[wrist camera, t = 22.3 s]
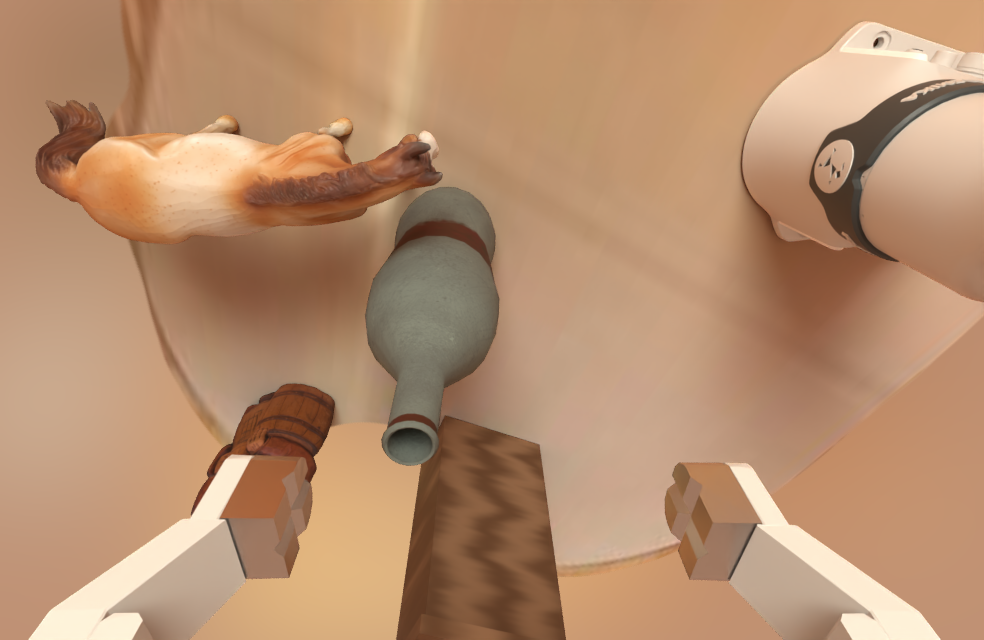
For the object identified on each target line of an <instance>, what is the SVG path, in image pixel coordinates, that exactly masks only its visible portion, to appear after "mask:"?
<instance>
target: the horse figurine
mask: <svg viewBox="0 0 984 640" xmlns="http://www.w3.org/2000/svg"><path fill="white" fill-rule="evenodd" d="M66 102H67V104H66V106H64V107H61V106H60V105H58V104H56V103H54V102H51V101H48V100H47V101H46V104H47V106H48V108H49V109H50V112H51V113H52V114H53V116H54V118H55V120H56V122H57V125H58V128H59V133H60V134H58V135H57V136H55V137H54V138H53V139H52V140H50V141H49V142H48V143H47V144H45V145H44V146H42V147H41V148H40V149H39V151H38V152H37V155H36V172H37V175H38V177H39V179H40V181H41V183H42V184H45V185H46V186H47V187H48V188H50V189H52V190H54V191H55V192H56V193H57V194H59V195H61V196H62V197H64V198H68V199H69V200H70V201H73V202H78V203H80V204H81V205H82V206H83V208H84V209H85V210H86V212H87V213H88V214H89V215H90V216H91V217H92V218H93V219H94V220H95V221H96V222H97V223H99V224H100V225H102V226H103V227H105V228H106V229H107V230H109V231H111V232H113V233H115V234H117V235H119V236H121V237H124V238H127V239H131V240H136V241H141V242H147V243H161V244H177V243H180V242H183V241H185V240H187V239H188V238H190V237H191V236H194V235H206V236H220V237H230V236H239V235H246V234H252V233H256V232H259V231H263V230H266V229H268V228H271V227H275V226H280V225H286V226H312V225H322V224H328V223H334V222H340V221H345V220H351V219H354V218H356V217H359V216H361V215H363V214H364V213H365V212H366V210H367V207H369V206H373V205H375V204H378V203H381V202H384V201H386V200H389V199H391V198H393V197H395V196H397V195H399V194H400V193H402V192H404V191H405V190H409V189H414V188H419V187H427V186H432V185H435V184H436V183H438V182H439V181H440V180H441V178H442V175H443V174H442V173H441V172H436V170H435V168H434V166H433V164H432V159H435V158H436V157H437V155H438V153H439V148H438V145H437V143H436V140H435V139H434V137H433V136H432V135H431V134H430V133H429V132H427V131H422V132H421V133H420V135H419V137H418V138H417V136H415V135H414V134H409V135H407V136H405V137H404V138H403V139H402V140H401V141H400V143H399V144H398V146H395V147H393V148H391V149H389V150H388V151H386V152H384V153H382V154H381V155H379V156H378V157H377V158H376V159H374V160H371V161H367V162H361V163H358V164H354V165H352V164H351V160H350V158H349V157H348V155H346V154H345V151H344V147H343V145H342V143H341V142H340V141H339V140H337V139H336V138H334V137H332V136H336V137H339V136H343V135H348V134H349V133H351V132H352V129H353V126H352V123H351V121H350V120H349V119H347V118H341V119H338V120H337V121H335V122H332V123H331V124H330V125H329V128H321V129H319V130H318V132H317V134H314V133H310V132H303V133H299V134H296V135H294V136H291V137H290V138H289V139H288V140H287V141H285V142H284V143H283V144H281V145H272V144H266V143H263V142H259V141H256V140H252V139H249V138H246V137H243V136H240V135H234V134H229V133H232V132H234V131H236V130H237V129H238V122H237V121H236V119H235V118H234V117H232V116H229V115H224V116H221V117H219V118H218V119H217V121H216V122H215V124H211V125H208V126H207V127H206V128H204V129H202V130H200V131H197V132H195V133H192V134H189V135H186V136H185V135H181V134H178V133H151V134H140V135H135V136H129V137H110V138H106V139H105V131H106V126H105V123H104V121H103V118H102V116H101V114H100V112H99V111H98V109H97V107H96V106H95V104H94V103H92V102H90V103H89V111H88V110H87V109H86V107H84V106H83V105H81V104H80V103H78V102H77V101H75V100H70V101H66Z"/></svg>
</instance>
